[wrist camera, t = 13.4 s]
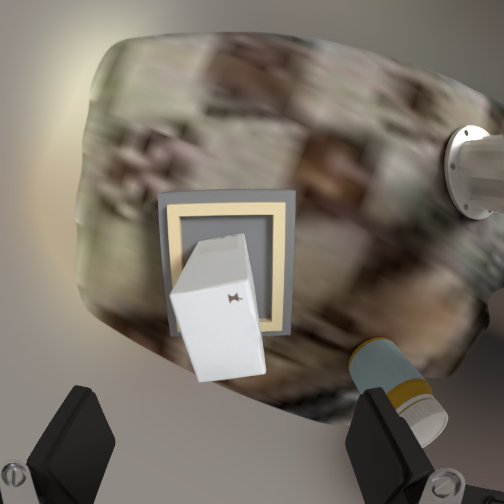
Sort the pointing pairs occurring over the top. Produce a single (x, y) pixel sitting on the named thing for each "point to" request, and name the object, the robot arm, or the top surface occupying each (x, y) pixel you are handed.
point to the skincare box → (219, 311)
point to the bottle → (398, 386)
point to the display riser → (230, 223)
